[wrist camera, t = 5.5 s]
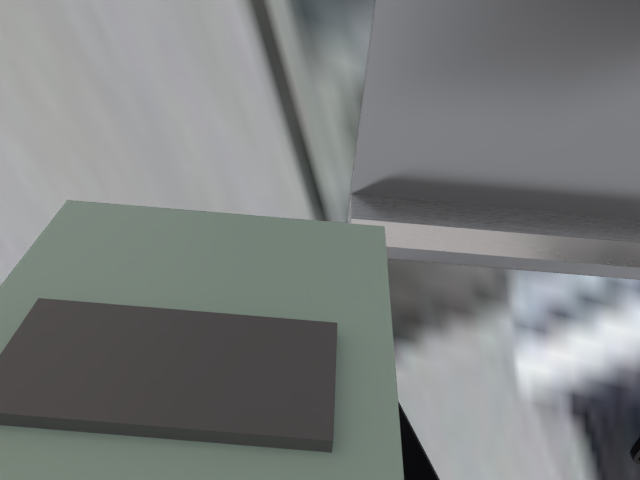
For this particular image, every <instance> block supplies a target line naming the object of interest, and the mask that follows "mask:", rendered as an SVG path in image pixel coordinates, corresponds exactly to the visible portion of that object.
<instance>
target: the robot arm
mask: <svg viewBox="0 0 640 480" xmlns="http://www.w3.org/2000/svg"><path fill="white" fill-rule="evenodd" d="M398 407H399V420H400V433H401V446H402V459H403V472H404V480H440V479H439V477H438V476H437V474H436V472H435V470H434V468H433V466H432V464H431V462H430V460H429V458H428V457H427V455H426V453H425V451H424V449H423V447H422V445H421V443H420V441H419V439H418V437H417V436H416V434H415V432H414V430H413V428H412V426H411V424H410V422H409V420H408V418H407V417H406V415H405V413H404V411H403V409H402V407H401V405H400V403H399V401H398ZM630 454H631V456H632V459H633V461H634V462H635V463H638V464H640V438H639V440H638V441H637V442H636V444H635V445H634V447H633V448H632V449H631V451H630Z"/></svg>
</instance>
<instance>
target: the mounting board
mask: <svg viewBox="0 0 640 480" xmlns="http://www.w3.org/2000/svg"><path fill="white" fill-rule="evenodd" d="M346 223H351V224H363V225H376V226H385V237H386V250H387V259H398V260H410V261H422V262H434V263H446V264H458V265H470V266H482V267H493V268H505V269H517V270H529V271H541V272H553V273H565V274H577V275H589V276H601V277H613V278H625V279H637V280H640V0H375V5H374V13H373V20H372V28H371V36H370V44H369V51H368V59H367V67H366V74H365V82H364V90H363V98H362V105H361V113H360V121H359V129H358V136H357V144H356V152H355V159H354V167H353V175H352V183H351V190H350V198H349V206H348V213H347V221H346Z"/></svg>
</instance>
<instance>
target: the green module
mask: <svg viewBox="0 0 640 480" xmlns="http://www.w3.org/2000/svg"><path fill="white" fill-rule="evenodd" d="M0 480H404V472H403V459H402V446H401V433H400V420H399V407H398V394H397V381H396V368H395V355H394V342H393V329H392V316H391V303H390V290H389V277H388V264H387V250H386V237H385V226H376V225H363V224H351V223H339V222H327V221H315V220H303V219H291V218H278V217H266V216H254V215H242V214H230V213H218V212H206V211H193V210H181V209H169V208H157V207H145V206H133V205H121V204H109V203H96V202H84V201H72V200H67V201H66V203H65V204H64V205H63V207H62V208H61V209H60V210H59V212H58V213H57V214H56V216H55V217H54V218H53V219H52V221H51V222H50V223H49V224H48V226H47V227H46V228H45V230H44V231H43V232H42V233H41V235H40V236H39V237H38V239H37V240H36V241H35V242H34V244H33V245H32V246H31V248H30V249H29V250H28V251H27V253H26V254H25V255H24V257H23V258H22V259H21V260H20V262H19V263H18V264H17V265H16V267H15V268H14V269H13V271H12V272H11V273H10V274H9V276H8V277H7V278H6V280H5V281H4V282H3V283H2V285H1V286H0Z"/></svg>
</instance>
